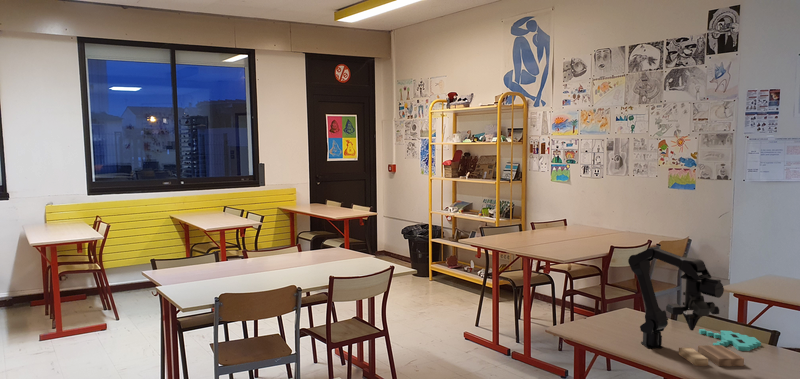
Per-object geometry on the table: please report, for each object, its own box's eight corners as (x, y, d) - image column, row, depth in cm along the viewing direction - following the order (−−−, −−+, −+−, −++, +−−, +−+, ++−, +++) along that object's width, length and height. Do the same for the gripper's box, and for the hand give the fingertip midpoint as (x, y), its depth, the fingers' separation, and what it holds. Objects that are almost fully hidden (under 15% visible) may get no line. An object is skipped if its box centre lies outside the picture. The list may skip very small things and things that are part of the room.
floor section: (718, 366, 212) (719, 358, 211) (697, 352, 226) (698, 345, 225) (743, 366, 212) (744, 358, 212) (721, 352, 226) (721, 345, 226)
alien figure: (714, 349, 230) (767, 353, 226) (714, 344, 230) (768, 348, 226) (698, 333, 250) (747, 336, 246) (699, 328, 250) (747, 332, 246)
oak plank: (678, 354, 224) (678, 347, 224) (690, 354, 225) (690, 347, 224) (695, 366, 212) (695, 359, 212) (708, 366, 213) (708, 358, 212)
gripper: (681, 297, 208) (679, 337, 209) (729, 296, 209) (727, 337, 210) (666, 289, 219) (664, 327, 220) (711, 289, 220) (709, 327, 221)
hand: (691, 330), depth 217 cm, fingers closed
